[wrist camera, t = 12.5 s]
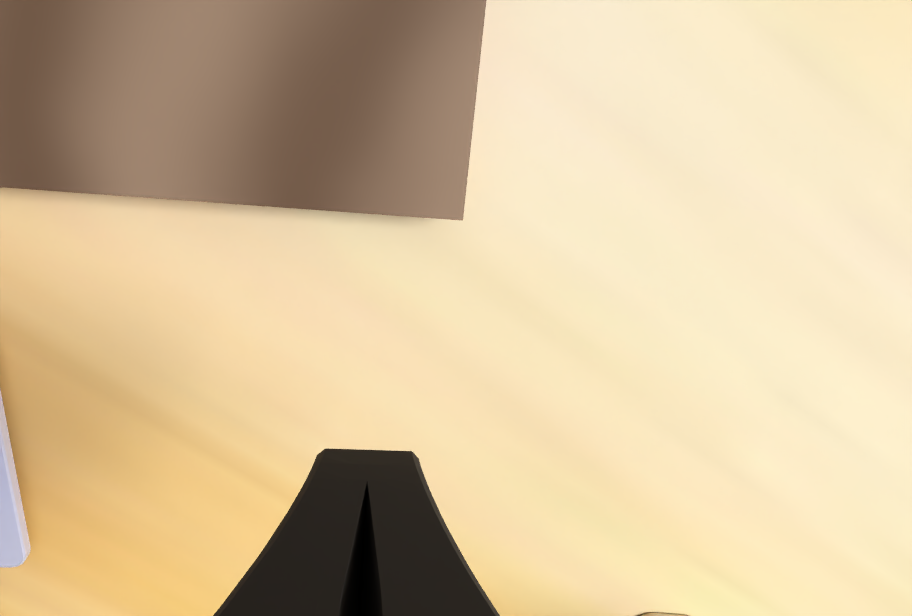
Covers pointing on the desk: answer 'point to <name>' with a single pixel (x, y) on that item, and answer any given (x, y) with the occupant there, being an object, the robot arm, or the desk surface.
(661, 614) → the grandmother figurine
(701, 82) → the desk surface
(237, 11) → the plate
